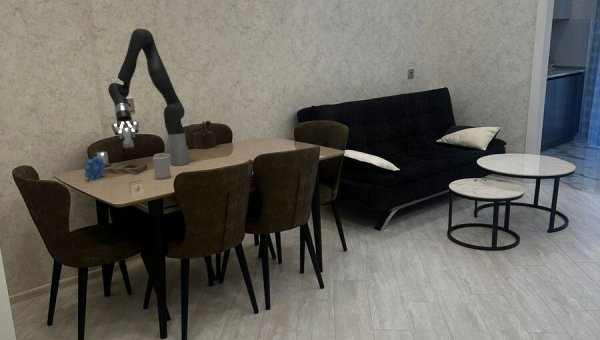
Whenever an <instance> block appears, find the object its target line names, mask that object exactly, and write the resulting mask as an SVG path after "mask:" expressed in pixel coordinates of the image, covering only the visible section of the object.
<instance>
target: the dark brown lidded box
mask: <svg viewBox="0 0 600 340" xmlns="http://www.w3.org/2000/svg"><path fill="white" fill-rule="evenodd" d="M211 125H212V122H211V121H210V120H206V121H202V129H201V130H199V131H198V132H195V133H192V137H193V147H194V149H199V150H200V149H203V150H207V149H212V148H215V147H217V139H216V138H217V137H216V135H217V134H216V132H214V131H209V130H210V129H211ZM205 128H206V129H205ZM208 129H209V130H208Z"/></svg>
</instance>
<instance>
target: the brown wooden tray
mask: <svg viewBox="0 0 600 340" xmlns="http://www.w3.org/2000/svg"><path fill="white" fill-rule="evenodd" d="M108 164H109V167H107V168H104V169H102V170H103V171H104V174H103V175H106V174H107V175H108V174H109V175H116V174H117V175H125V174H126V175H131V176H138V175H139V174H142V173H144V172H146V171H148V170H149V169H148V164H147V163H146V164H145V163H129V164H128V163H114V164H113V163H108Z"/></svg>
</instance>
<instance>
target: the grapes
mask: <svg viewBox="0 0 600 340" xmlns="http://www.w3.org/2000/svg"><path fill="white" fill-rule="evenodd" d="M104 168H105V164H104V163H103V159H102V158H99V159H98V157H97V155H96V156H93V157H92V158H89V159H88V160H87V163H86V165H85V166H84V172H85V173H84V177H85V178H86V179H87V178H88V180H89V181H93V180H99V179H100V177H101V176H103V175H105V174H104V171H103V170H102V169H104Z"/></svg>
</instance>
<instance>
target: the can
mask: <svg viewBox="0 0 600 340" xmlns="http://www.w3.org/2000/svg"><path fill="white" fill-rule="evenodd" d="M152 162H153V169H154V172H153V173H154V178H156V179H157V180H166V179H169V178H170V176H171V168H170V167H171V166H170V165H171V164H170V156H169V155H168V154H167V153H165V152H161V153H155V154H153V158H152Z"/></svg>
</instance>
